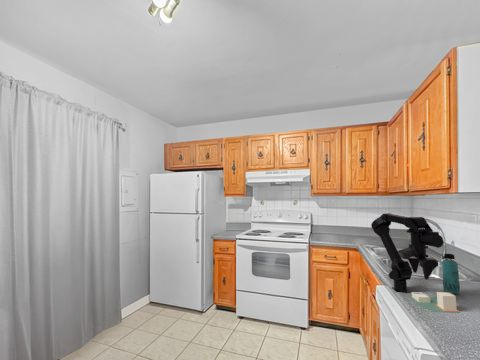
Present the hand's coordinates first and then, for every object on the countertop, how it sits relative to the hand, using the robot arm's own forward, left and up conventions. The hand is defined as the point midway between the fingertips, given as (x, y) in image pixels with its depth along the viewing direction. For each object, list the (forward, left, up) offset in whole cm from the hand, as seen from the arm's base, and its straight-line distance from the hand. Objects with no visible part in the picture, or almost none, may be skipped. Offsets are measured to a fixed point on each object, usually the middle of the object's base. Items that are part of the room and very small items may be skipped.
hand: (420, 275), depth 115 cm
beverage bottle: (-10, +19, -12) cm, 25 cm away
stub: (+7, +6, -11) cm, 15 cm away
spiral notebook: (-1, 0, -12) cm, 12 cm away
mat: (+3, +2, -12) cm, 13 cm away
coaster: (+7, +6, -12) cm, 15 cm away
